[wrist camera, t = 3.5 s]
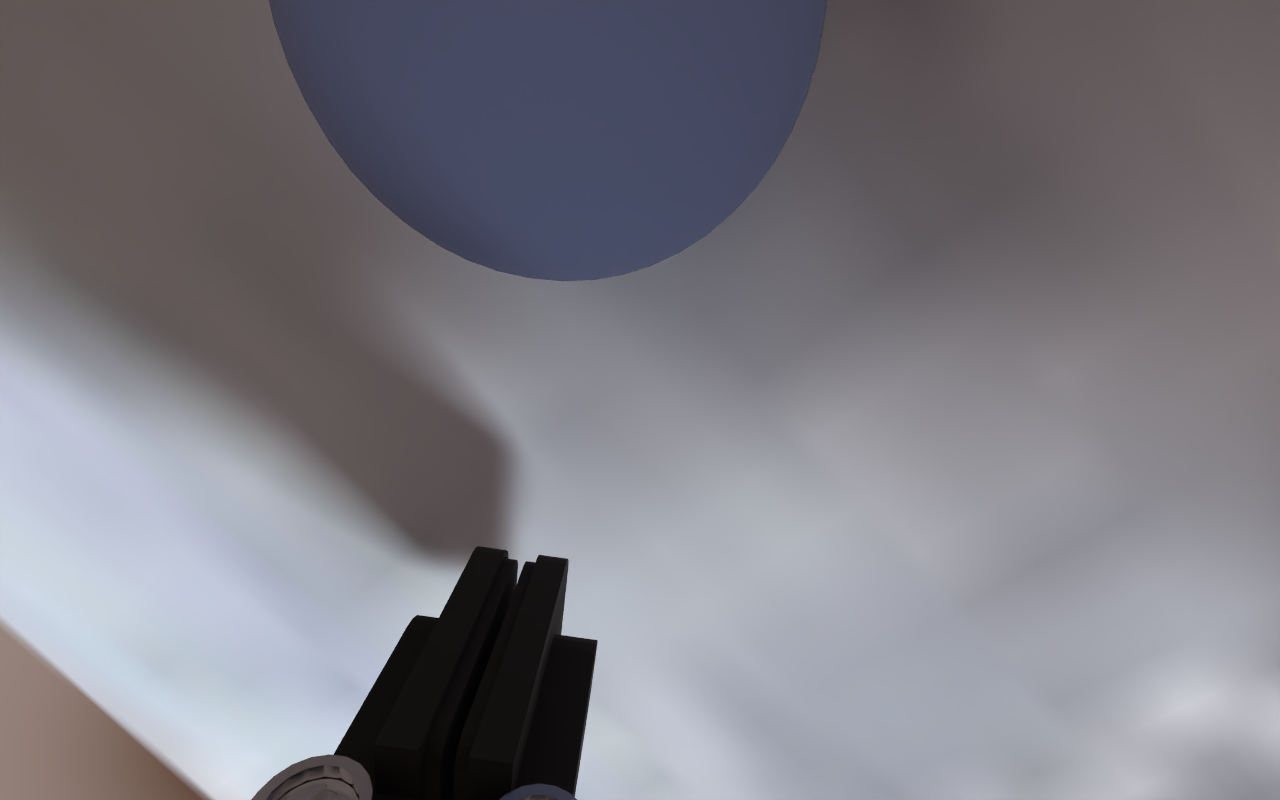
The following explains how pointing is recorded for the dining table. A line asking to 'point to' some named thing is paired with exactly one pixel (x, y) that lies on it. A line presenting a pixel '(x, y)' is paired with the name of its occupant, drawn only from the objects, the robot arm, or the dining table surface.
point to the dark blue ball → (555, 117)
